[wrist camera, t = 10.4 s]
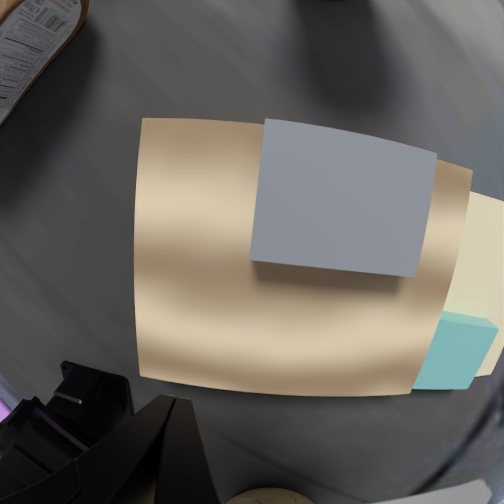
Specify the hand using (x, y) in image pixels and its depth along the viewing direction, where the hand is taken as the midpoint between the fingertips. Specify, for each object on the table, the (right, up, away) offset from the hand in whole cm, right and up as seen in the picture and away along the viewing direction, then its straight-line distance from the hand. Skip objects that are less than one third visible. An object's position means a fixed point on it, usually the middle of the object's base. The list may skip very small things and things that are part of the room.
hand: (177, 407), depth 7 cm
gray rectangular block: (+6, +7, +7) cm, 12 cm away
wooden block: (+5, +4, +12) cm, 14 cm away
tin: (-15, +18, +9) cm, 25 cm away
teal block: (+17, -3, +14) cm, 22 cm away
